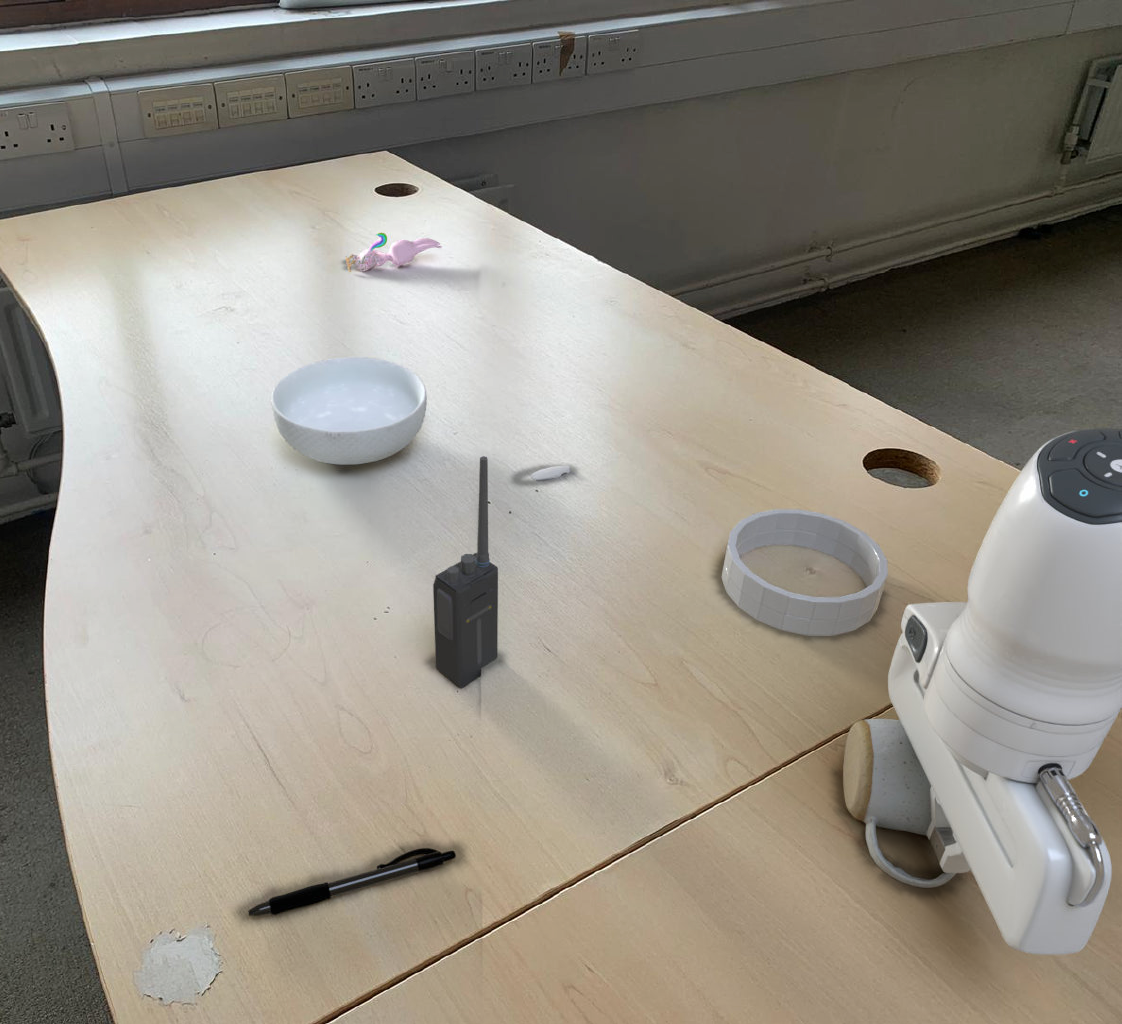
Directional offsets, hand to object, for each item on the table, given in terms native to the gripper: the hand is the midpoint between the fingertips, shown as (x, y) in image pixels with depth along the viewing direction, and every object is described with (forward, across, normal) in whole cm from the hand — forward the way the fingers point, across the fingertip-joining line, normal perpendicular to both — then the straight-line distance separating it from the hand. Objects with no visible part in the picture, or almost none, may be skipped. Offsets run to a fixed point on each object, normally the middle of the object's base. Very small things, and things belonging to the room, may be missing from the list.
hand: (946, 854), depth 64 cm
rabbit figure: (+3, +109, +42) cm, 117 cm away
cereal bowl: (+3, +55, +44) cm, 71 cm away
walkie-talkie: (+3, +20, +31) cm, 37 cm away
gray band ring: (+3, +30, +1) cm, 30 cm away
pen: (+3, -1, +38) cm, 38 cm away
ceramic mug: (+3, +4, 0) cm, 6 cm away
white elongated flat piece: (+3, +48, +23) cm, 53 cm away
